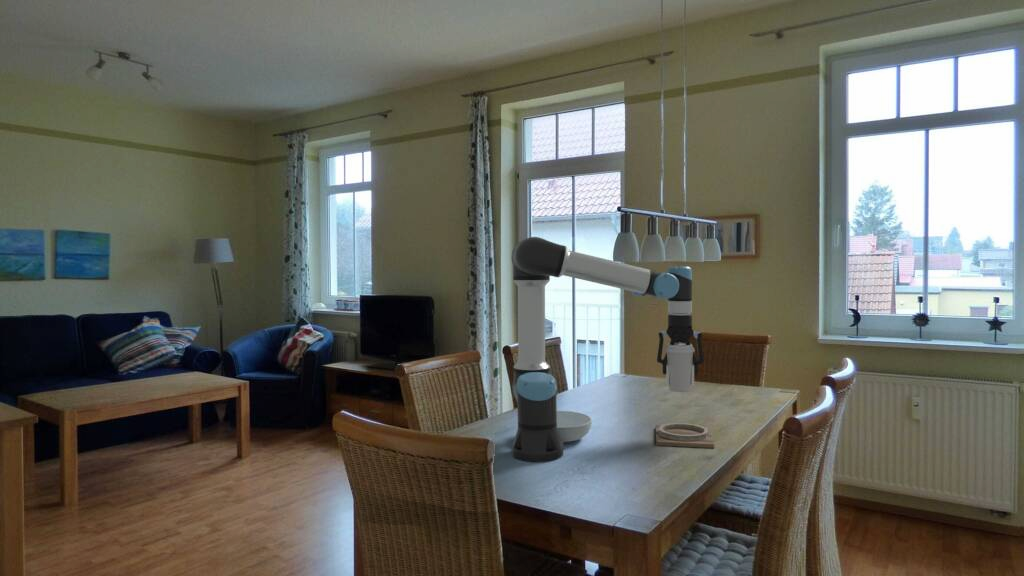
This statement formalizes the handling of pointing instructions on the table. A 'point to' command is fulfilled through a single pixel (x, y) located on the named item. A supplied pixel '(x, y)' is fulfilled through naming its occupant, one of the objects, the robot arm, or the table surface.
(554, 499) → the table surface
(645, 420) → the table surface
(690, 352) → the coffee cup
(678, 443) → the carrier board
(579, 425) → the serving bowl
